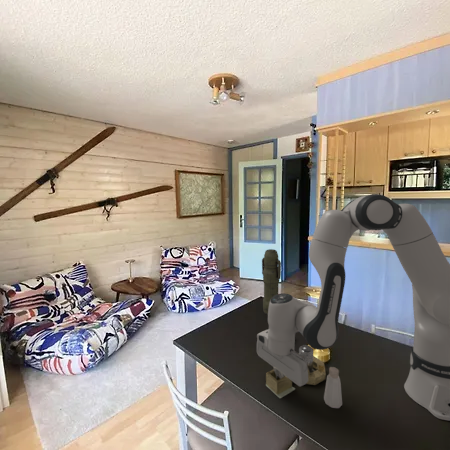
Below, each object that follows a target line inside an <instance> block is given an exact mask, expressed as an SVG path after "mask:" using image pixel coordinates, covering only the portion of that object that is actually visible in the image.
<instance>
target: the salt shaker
mask: <svg viewBox="0 0 450 450" xmlns="http://www.w3.org/2000/svg"><path fill="white" fill-rule="evenodd" d="M339 373H340V369H338V368H336V367H334V366H330V367H329V368H328V374H326V379H325V380H326V382H325V387H324V393H323V400H324V402H325V403H324V404H326V405H327V406H328V407H330V408H332V409H340V408H341V406H343V397H342V384H341V378H340V376H339Z"/></svg>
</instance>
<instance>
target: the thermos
mask: <svg viewBox="0 0 450 450" xmlns="http://www.w3.org/2000/svg"><path fill="white" fill-rule="evenodd" d="M281 266H282V262H281V260H279V253H278V251H277V250H276V249H272V248H271V249H270V248H269V249H266V250H265V252H264V254H263V257H262V259H261V274H262V280H263V299H262V308H263V313H264V314H265V315H267V316H268V308H269V303H270V300H271V298H272V297H273V296H275V295H277V294H279V283H280V280H281V276H282V267H281Z"/></svg>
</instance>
